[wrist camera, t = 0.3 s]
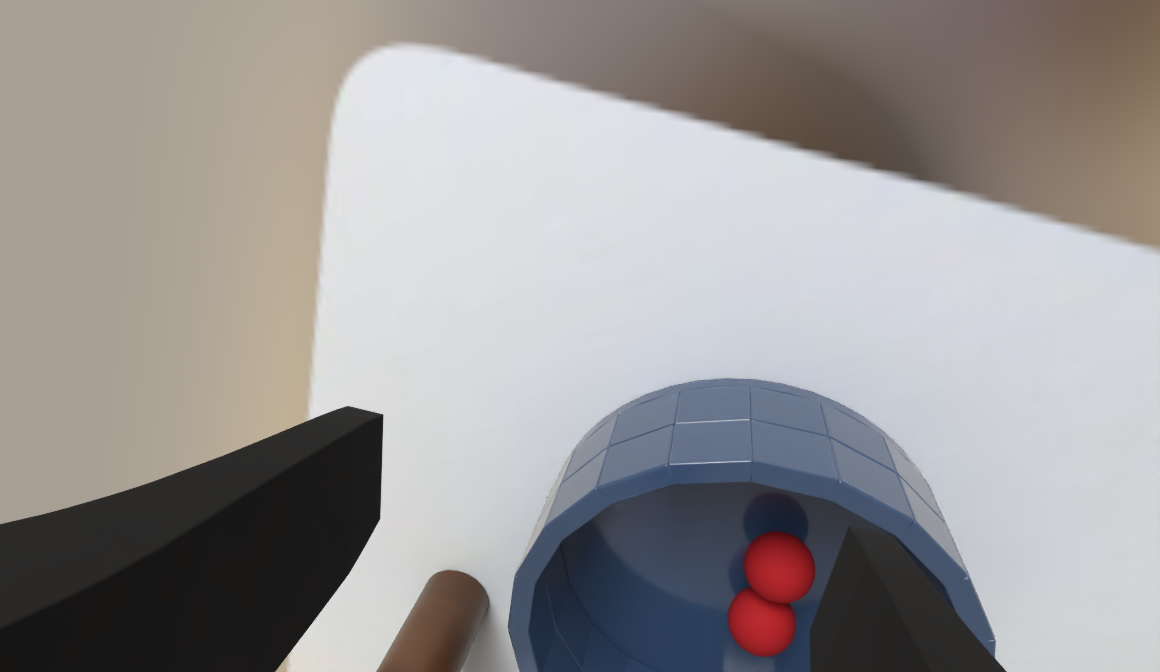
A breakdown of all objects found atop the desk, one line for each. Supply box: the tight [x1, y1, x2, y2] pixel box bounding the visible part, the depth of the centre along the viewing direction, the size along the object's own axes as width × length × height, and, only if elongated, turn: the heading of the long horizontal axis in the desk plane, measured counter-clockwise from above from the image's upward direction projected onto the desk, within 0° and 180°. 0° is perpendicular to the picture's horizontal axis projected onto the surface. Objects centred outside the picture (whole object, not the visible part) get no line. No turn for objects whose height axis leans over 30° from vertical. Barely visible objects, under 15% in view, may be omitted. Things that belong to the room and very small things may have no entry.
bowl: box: [508, 378, 996, 672], centre depth 20 cm, size 12×12×4 cm
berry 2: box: [728, 586, 796, 657], centre depth 21 cm, size 2×2×2 cm
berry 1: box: [744, 531, 815, 604], centre depth 20 cm, size 2×2×2 cm
